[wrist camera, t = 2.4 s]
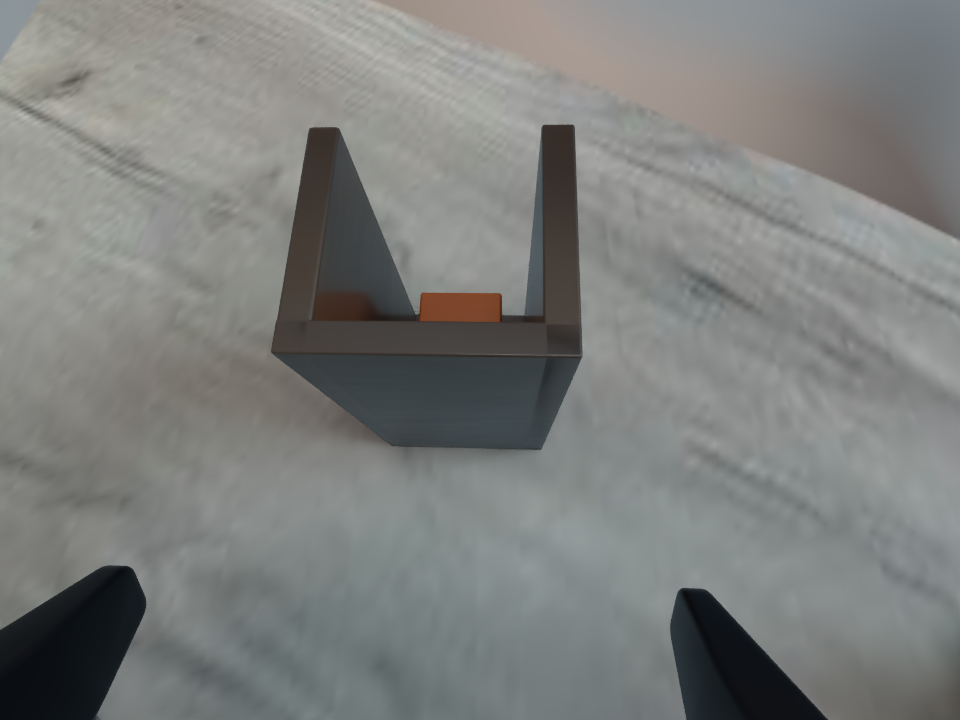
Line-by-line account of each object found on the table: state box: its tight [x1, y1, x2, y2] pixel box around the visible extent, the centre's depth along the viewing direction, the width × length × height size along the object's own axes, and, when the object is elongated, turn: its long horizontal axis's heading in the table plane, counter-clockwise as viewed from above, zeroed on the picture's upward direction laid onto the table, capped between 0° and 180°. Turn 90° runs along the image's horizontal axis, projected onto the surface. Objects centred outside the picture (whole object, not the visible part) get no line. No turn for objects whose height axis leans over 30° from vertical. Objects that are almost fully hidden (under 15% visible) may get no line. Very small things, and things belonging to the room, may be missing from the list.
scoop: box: [271, 125, 582, 450], centre depth 18 cm, size 6×7×12 cm
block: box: [419, 293, 502, 322], centre depth 21 cm, size 3×3×5 cm
